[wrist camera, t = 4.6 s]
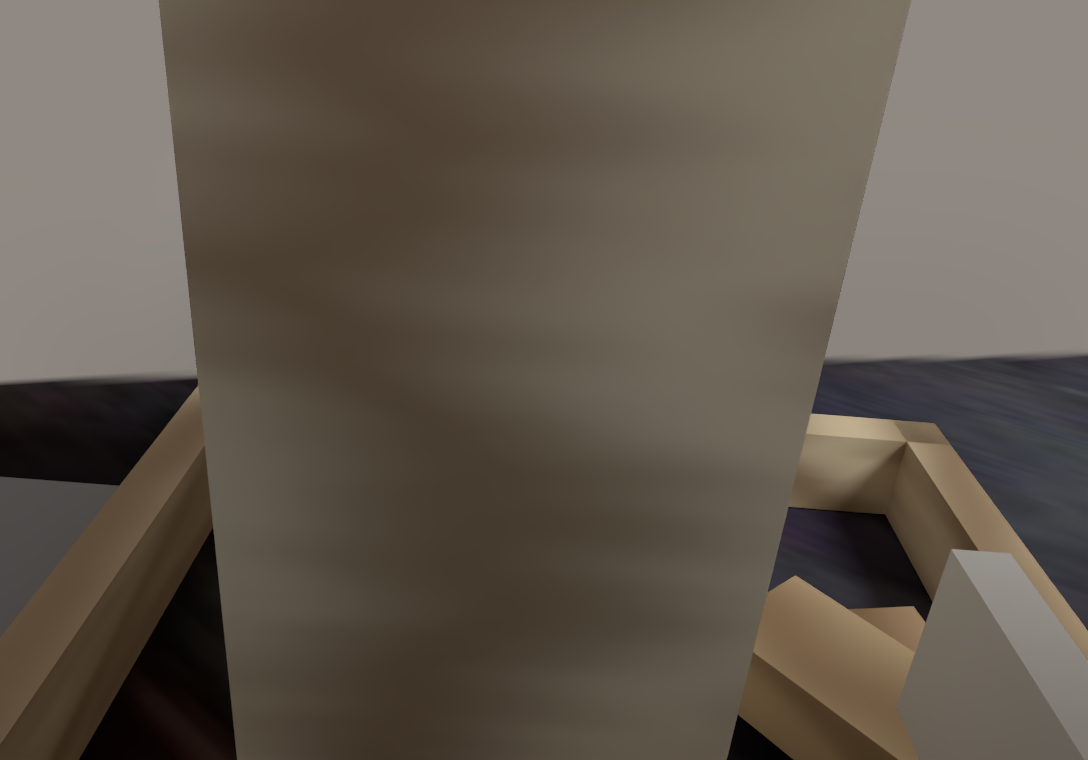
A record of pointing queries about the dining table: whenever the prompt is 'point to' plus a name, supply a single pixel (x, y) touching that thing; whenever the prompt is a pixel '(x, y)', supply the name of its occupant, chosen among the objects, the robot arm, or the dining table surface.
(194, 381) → the dining table surface
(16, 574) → the slate board
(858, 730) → the offcut upper
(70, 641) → the wooden frame
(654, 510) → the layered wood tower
